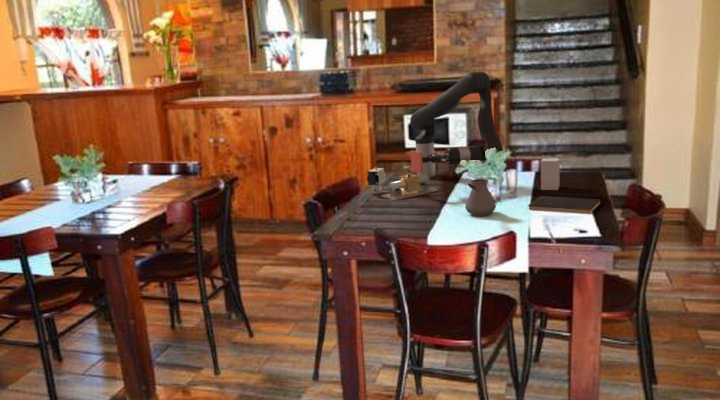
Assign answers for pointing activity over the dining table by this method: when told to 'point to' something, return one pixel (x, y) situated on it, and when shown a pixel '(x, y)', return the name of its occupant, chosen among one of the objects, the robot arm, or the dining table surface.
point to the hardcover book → (564, 204)
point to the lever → (415, 162)
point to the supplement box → (550, 174)
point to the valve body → (409, 187)
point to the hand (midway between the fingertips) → (420, 160)
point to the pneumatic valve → (376, 178)
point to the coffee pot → (479, 199)
